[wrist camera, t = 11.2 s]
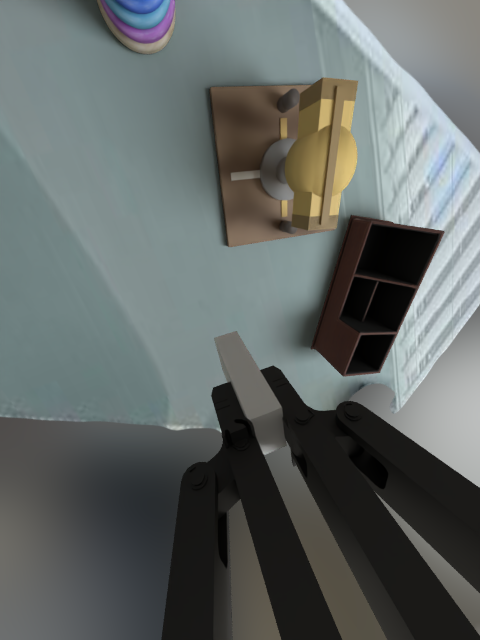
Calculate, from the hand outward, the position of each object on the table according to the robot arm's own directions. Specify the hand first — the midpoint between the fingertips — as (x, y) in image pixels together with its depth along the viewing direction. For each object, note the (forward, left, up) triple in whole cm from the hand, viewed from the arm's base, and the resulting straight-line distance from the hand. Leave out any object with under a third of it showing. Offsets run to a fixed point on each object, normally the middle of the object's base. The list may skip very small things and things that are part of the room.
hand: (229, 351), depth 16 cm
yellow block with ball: (-11, +17, -20) cm, 28 cm away
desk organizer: (+13, +33, -29) cm, 46 cm away
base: (-11, +17, -28) cm, 35 cm away
